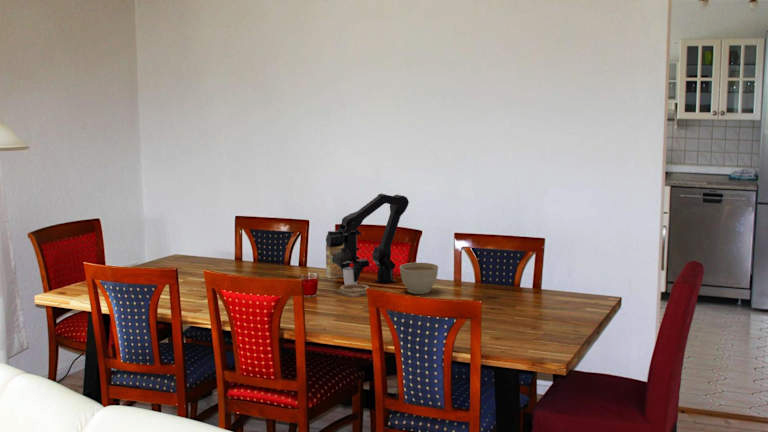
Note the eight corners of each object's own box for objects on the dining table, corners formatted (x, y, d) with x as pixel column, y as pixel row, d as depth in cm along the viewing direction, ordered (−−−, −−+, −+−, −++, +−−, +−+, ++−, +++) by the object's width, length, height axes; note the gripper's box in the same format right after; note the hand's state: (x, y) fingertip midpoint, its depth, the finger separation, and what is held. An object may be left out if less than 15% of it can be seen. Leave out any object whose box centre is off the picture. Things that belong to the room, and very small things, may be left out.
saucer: (356, 288, 350) (356, 282, 350) (374, 293, 342) (374, 287, 341) (334, 292, 342) (334, 287, 342) (353, 297, 334) (353, 292, 333)
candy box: (329, 279, 369) (329, 245, 366) (325, 277, 372) (325, 244, 370) (347, 276, 373) (347, 243, 371) (343, 275, 376) (343, 242, 374)
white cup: (359, 282, 359) (359, 266, 358) (357, 285, 352) (357, 270, 351) (344, 282, 360) (343, 266, 359) (341, 285, 353) (341, 269, 352)
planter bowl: (393, 289, 347) (392, 264, 346) (425, 285, 354) (425, 261, 353) (411, 298, 333) (411, 271, 331) (445, 293, 340) (445, 267, 339)
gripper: (322, 244, 355) (322, 280, 357) (349, 250, 341) (350, 287, 344) (342, 241, 362) (342, 276, 365) (369, 247, 349) (370, 282, 351)
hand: (350, 280), depth 356 cm, fingers closed on white cup, 6 cm apart
